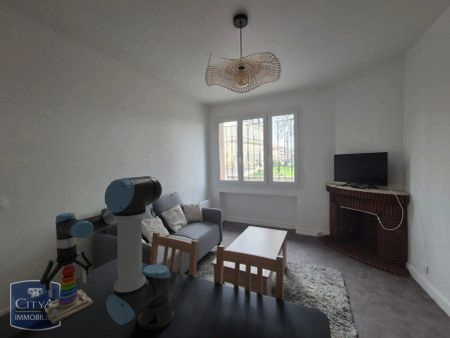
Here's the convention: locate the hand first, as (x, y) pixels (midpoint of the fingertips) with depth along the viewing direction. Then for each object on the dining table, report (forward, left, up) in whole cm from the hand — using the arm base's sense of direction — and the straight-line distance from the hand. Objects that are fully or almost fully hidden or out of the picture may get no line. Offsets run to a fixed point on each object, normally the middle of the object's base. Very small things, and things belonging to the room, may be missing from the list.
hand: (68, 288), depth 100 cm
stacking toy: (0, 0, -8) cm, 8 cm away
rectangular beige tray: (0, 0, -9) cm, 9 cm away
